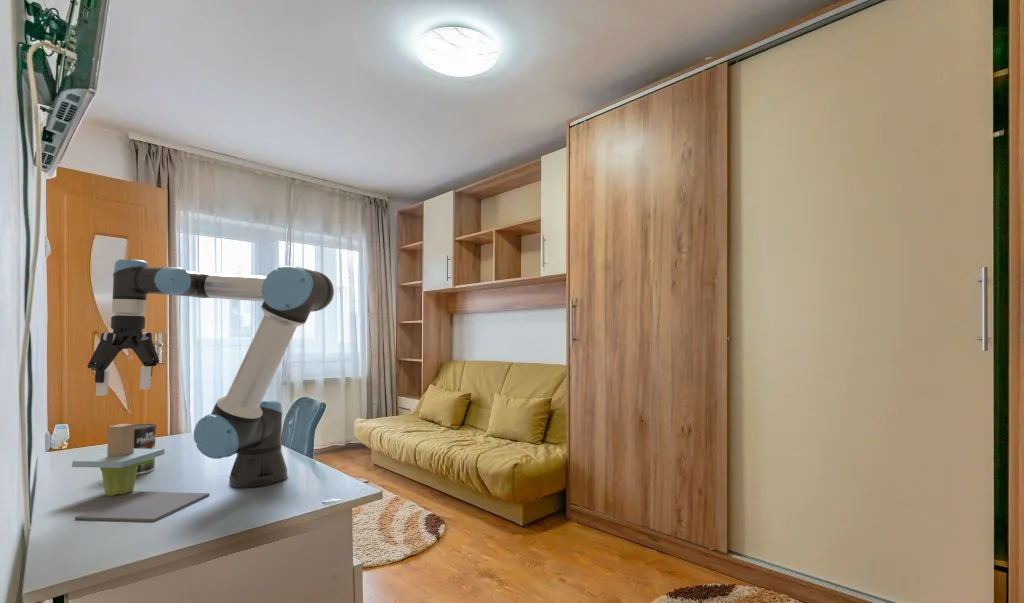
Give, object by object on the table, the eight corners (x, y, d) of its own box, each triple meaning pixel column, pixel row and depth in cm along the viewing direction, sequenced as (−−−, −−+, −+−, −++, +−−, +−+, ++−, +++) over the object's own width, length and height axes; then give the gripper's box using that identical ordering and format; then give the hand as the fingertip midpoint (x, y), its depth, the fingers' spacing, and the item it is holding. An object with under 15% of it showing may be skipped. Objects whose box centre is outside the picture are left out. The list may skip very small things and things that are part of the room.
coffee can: (163, 467, 160) (164, 423, 160) (133, 477, 149) (135, 430, 150) (135, 466, 161) (136, 423, 162) (104, 476, 151) (106, 429, 152)
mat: (209, 495, 132) (209, 493, 132) (154, 521, 114) (154, 519, 114) (139, 494, 134) (140, 491, 134) (74, 519, 116) (75, 516, 116)
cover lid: (164, 454, 142) (165, 420, 143) (121, 467, 128) (122, 430, 129) (119, 453, 143) (120, 420, 144) (72, 467, 129) (73, 430, 130)
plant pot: (116, 499, 130) (117, 465, 130) (87, 497, 132) (88, 464, 132) (149, 488, 139) (150, 456, 139) (121, 486, 141) (122, 455, 141)
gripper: (152, 316, 151) (149, 386, 150) (72, 313, 126) (67, 397, 125) (175, 316, 150) (172, 387, 149) (99, 313, 125) (94, 398, 124)
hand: (124, 392), depth 137 cm, fingers open, 13 cm apart
